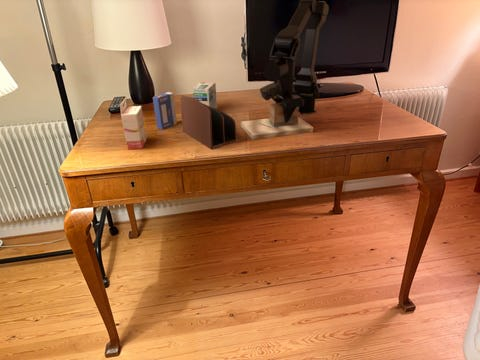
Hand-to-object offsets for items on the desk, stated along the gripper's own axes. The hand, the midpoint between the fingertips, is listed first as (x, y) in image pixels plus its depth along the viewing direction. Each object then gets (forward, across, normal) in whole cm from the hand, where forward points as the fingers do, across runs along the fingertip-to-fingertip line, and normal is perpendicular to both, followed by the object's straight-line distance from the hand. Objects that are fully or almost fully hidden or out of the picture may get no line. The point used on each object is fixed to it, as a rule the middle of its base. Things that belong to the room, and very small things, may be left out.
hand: (283, 119), depth 122 cm
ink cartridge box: (+3, -2, -51) cm, 51 cm away
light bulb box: (+3, -28, -23) cm, 36 cm away
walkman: (+3, -16, -40) cm, 43 cm away
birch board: (+3, 0, -3) cm, 4 cm away
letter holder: (+3, -1, -27) cm, 27 cm away
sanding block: (+1, 0, 0) cm, 1 cm away
